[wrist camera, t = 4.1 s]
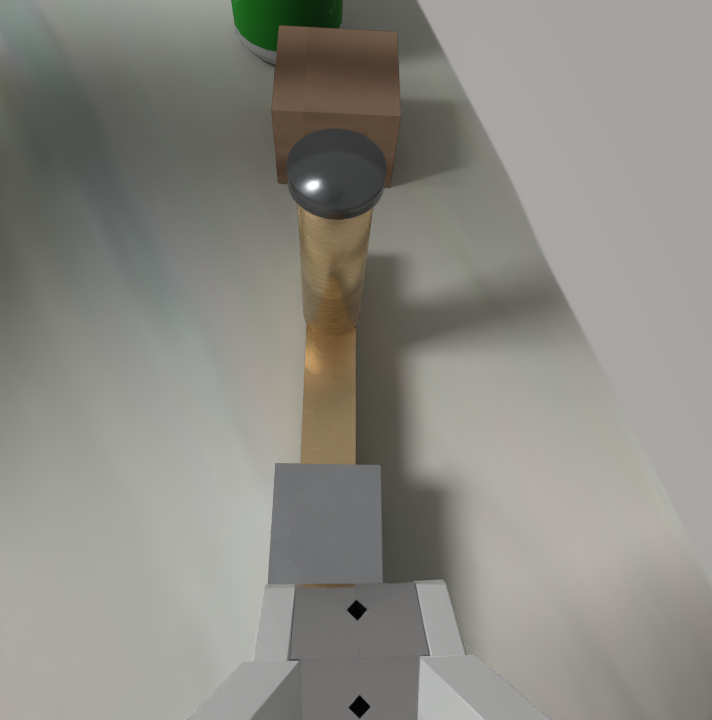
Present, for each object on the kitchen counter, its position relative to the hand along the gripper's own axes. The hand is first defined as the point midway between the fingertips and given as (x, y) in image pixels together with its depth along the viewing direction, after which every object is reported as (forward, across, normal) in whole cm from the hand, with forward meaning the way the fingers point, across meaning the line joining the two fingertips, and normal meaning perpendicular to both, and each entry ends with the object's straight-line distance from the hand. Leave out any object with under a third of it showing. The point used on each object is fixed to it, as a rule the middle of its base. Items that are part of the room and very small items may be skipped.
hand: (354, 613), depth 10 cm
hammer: (+18, +1, +6) cm, 18 cm away
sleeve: (+13, +1, +11) cm, 17 cm away
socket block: (+32, 0, -9) cm, 34 cm away
